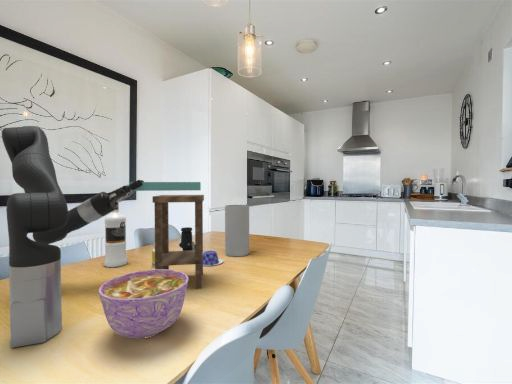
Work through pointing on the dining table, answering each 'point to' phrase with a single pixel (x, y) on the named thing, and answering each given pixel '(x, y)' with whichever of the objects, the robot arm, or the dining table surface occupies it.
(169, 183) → the teal bar
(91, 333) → the dining table surface
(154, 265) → the supplement bottle
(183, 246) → the scope
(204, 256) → the blue teacup with saucer
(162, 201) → the stand
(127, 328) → the bowl of food
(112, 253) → the vodka
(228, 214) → the cylinder vase
